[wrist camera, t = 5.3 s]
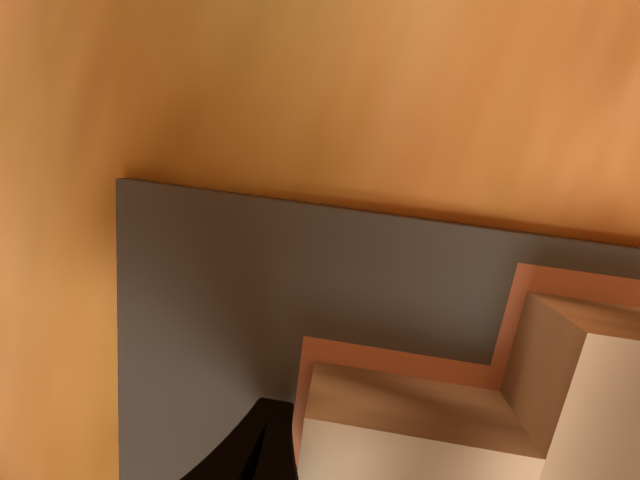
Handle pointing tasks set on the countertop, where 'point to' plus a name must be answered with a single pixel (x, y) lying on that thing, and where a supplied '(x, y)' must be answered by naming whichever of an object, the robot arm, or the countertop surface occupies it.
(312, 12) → the countertop surface
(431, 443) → the t block
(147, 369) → the mat
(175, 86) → the countertop surface
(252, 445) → the robot arm
